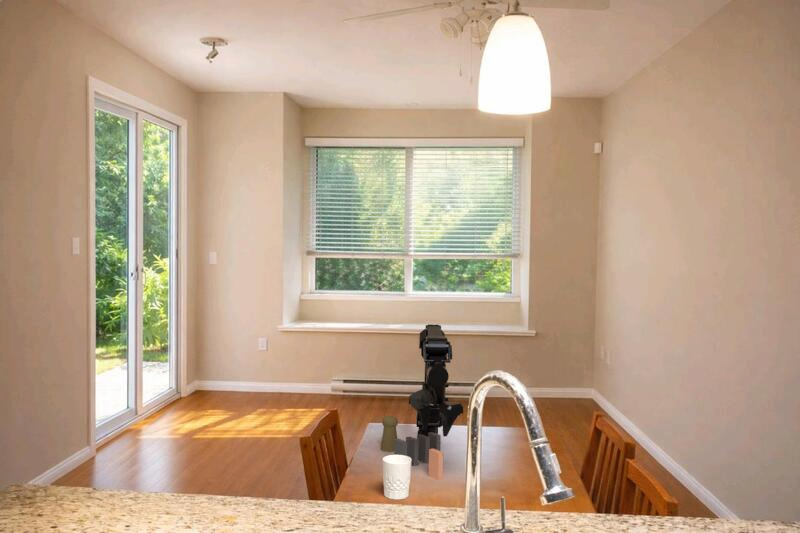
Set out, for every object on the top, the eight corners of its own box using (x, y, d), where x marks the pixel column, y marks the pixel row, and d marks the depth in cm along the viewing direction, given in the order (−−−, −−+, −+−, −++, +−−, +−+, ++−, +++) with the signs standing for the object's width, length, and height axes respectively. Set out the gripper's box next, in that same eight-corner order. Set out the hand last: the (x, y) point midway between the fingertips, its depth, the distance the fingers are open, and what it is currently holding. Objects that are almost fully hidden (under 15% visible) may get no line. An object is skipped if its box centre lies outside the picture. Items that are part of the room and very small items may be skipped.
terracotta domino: (432, 475, 202) (433, 448, 202) (442, 479, 198) (442, 452, 198) (428, 476, 201) (429, 449, 201) (438, 480, 198) (438, 453, 197)
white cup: (400, 502, 180) (401, 465, 179) (376, 496, 184) (377, 460, 183) (416, 494, 186) (416, 458, 186) (392, 488, 190) (392, 452, 190)
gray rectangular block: (431, 456, 220) (431, 432, 220) (440, 460, 216) (440, 435, 216) (427, 457, 219) (428, 432, 219) (436, 460, 215) (436, 436, 215)
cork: (399, 447, 229) (400, 414, 229) (397, 452, 223) (398, 419, 223) (381, 446, 230) (382, 414, 230) (379, 451, 224) (380, 418, 224)
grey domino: (420, 458, 217) (421, 434, 217) (429, 462, 214) (429, 437, 213) (416, 459, 216) (417, 434, 216) (425, 463, 213) (425, 438, 212)
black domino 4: (398, 463, 212) (398, 438, 211) (406, 467, 208) (407, 441, 208) (393, 464, 211) (394, 439, 210) (402, 468, 207) (402, 442, 207)
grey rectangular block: (409, 461, 214) (409, 436, 214) (418, 465, 211) (418, 439, 211) (405, 462, 213) (405, 437, 213) (413, 466, 210) (414, 440, 210)
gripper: (395, 377, 202) (393, 429, 202) (435, 388, 187) (434, 444, 187) (424, 374, 208) (423, 424, 209) (465, 384, 193) (464, 438, 194)
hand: (434, 432), depth 199 cm, fingers open, 9 cm apart
